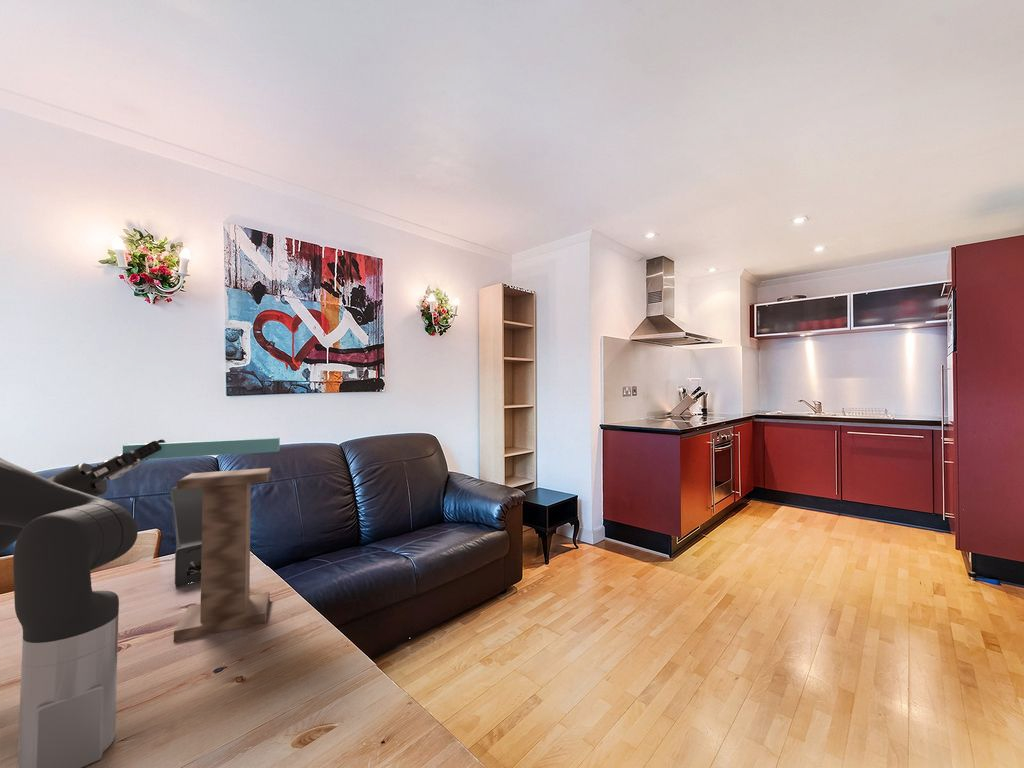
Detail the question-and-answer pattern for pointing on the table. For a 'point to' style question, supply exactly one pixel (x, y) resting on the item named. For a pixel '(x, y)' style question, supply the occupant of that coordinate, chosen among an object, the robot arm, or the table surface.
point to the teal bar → (210, 447)
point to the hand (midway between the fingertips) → (161, 443)
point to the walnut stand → (224, 555)
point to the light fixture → (187, 534)
